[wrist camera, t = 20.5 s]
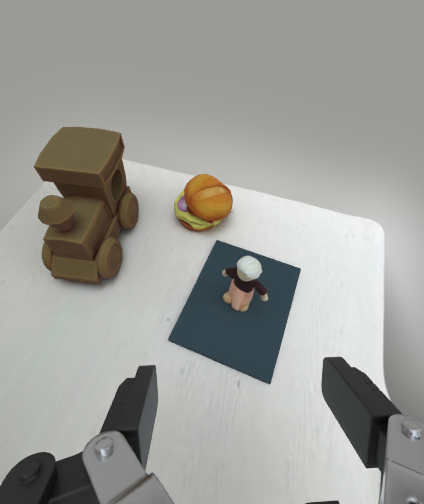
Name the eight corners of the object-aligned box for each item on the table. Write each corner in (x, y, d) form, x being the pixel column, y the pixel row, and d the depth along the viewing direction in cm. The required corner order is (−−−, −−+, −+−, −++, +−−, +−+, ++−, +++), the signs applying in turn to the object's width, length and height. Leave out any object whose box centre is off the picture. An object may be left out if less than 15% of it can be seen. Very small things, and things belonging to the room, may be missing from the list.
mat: (168, 340, 42) (168, 339, 41) (216, 241, 52) (216, 239, 52) (269, 384, 39) (270, 383, 38) (299, 270, 49) (300, 268, 49)
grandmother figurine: (213, 302, 45) (215, 263, 34) (222, 283, 47) (227, 240, 36) (257, 322, 43) (274, 287, 32) (265, 301, 45) (284, 262, 34)
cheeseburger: (187, 188, 59) (196, 153, 51) (230, 212, 59) (247, 182, 51) (163, 221, 54) (169, 188, 45) (210, 247, 54) (225, 219, 45)
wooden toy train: (92, 198, 58) (56, 124, 44) (146, 204, 57) (126, 130, 43) (49, 283, 47) (-17, 221, 33) (114, 291, 46) (75, 232, 32)
